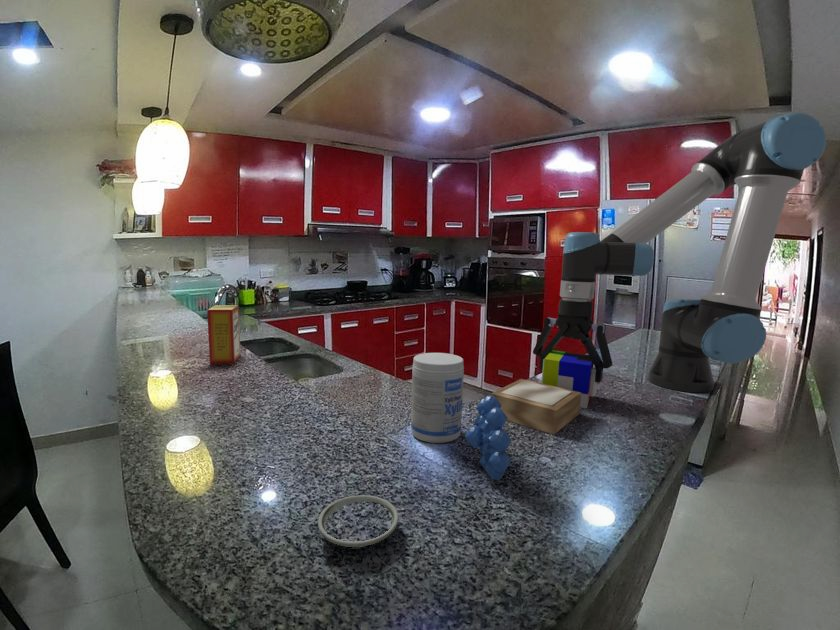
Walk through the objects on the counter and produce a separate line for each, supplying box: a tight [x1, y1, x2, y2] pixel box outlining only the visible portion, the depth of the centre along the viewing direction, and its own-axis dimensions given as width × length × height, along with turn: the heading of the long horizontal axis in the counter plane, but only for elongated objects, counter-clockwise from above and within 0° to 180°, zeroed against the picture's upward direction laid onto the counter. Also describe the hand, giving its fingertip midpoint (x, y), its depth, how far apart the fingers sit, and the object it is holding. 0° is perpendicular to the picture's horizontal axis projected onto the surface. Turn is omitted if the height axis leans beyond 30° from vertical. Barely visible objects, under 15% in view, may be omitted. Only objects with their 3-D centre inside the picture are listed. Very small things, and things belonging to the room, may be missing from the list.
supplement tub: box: [410, 352, 465, 444], centre depth 80 cm, size 10×10×15 cm
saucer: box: [317, 494, 399, 547], centre depth 52 cm, size 10×10×2 cm
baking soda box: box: [206, 304, 241, 365], centre depth 127 cm, size 10×6×16 cm
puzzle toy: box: [541, 349, 594, 410], centre depth 102 cm, size 10×10×10 cm
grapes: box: [464, 394, 512, 481], centre depth 67 cm, size 12×7×12 cm, turn 8°
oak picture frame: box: [490, 378, 581, 435], centre depth 91 cm, size 14×14×5 cm
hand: (567, 389), depth 104 cm, fingers closed on puzzle toy, 11 cm apart
